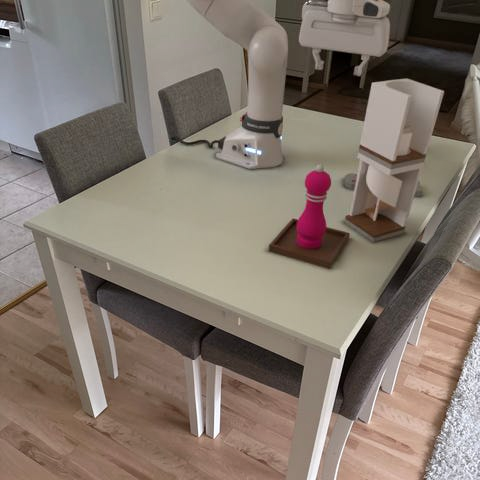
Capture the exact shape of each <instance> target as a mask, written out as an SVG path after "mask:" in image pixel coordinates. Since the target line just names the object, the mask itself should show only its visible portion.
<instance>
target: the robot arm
mask: <svg viewBox="0 0 480 480" xmlns="http://www.w3.org/2000/svg"><path fill="white" fill-rule="evenodd" d="M186 1H187V2H188V4H189V5H190V6H191V7H192V8H193V9H194V10H195V11H196V12H197V13H198V14H199V15H200V16H201V17H202V18H204V19H205V20H206V21H207V22H208V23H209V24H211V25H212V26H213V27H214V28H215V29H216V30H217V31H218V32H220V33H221V34H222V35H223V36H224V37H226V38H227V39H230V40H231V41H233V42H234V43H236V44H237V45H239V46H240V47H242V49H244V50H246V51H247V52H248V69H247V71H248V74H247V75H248V78H247V81H248V82H247V87H248V88H247V89H248V90H247V110H246V112H245V113H244V114H243V115H241V117H240V118H239V122H240V123H241V125H239V126H238V127H236V128H235V129H233V130H232V131H231V132H229V133H228V134H227V135H226V136H223V137H221V138H220V139H219V140H218V139H215V140H212V141H211V143H210V141H208V140H207V139H198V140H195V141H184V140H183V139H182V138H180V137H179V136H178V135H173V136H171V137H170V140H174V139H176V140H177V141H178V142H180V143H181V144H183V145H186V146H187V145H188V146H190V145H196V144H200V143H205V144H207V147H208V148H211V149H212V148H213V147H214V144H217V148H218V150H217V151H216V154H215V158H216V159H219V160H222V161H224V162H228V163H231V164H234V165H237V166H240V167H243V168H245V169H249V170H256V169H263V168H265V169H266V168H274V167H277V166H279V165H281V164H282V163H283V162H284V158H283V152H282V139H283V137H282V136H283V135H282V134H283V129H284V116H283V109H284V99H285V97H284V96H285V88H286V87H285V85H286V77H287V67H288V57H289V56H288V55H289V37H288V33H287V31H286V30H285V28H284V27H283V26H282V25H281V24H280V23H279V22H277V21H276V19H274V18H272V17H271V16H270V15H269V14H267V12H265V11H264V10H263V9H262V8H260V7H259V6H257V5H256V4H255V3H253V2H252V1H251V0H186ZM390 10H391V4H390V3H389V2H387V1H384V0H308V1H305V3H304V4H303V5H302V10H301V19H302V21H301V25H300V30H299V34H298V43H299V44H300V46H301V47H305V48H312V50H311V51H312V56H313V59H314V62H315V66H314V70H317V71H322V70H323V69H324V65H325V61H324V60H322V59H321V56H320V53H321V52H322V50H328V51H333V52H342V53H348V54H357V55H360V57H361V58H360V60H362V61H361V63H360V64H359V65H356V66H355V67H354V68H353V69H354V70H353V76H356V77H361V76H362V73H363V68H364V67H365V65H366V64H367V63H368V61H369V60H370V57H371V56H372V57H378V58H381V57H382V56H383V55H385V53H386V52H387V51H388V47H389V42H390V30H391V23H390V22H391V21H390V19H389V18H388V17H387V15H389V13H390Z"/></svg>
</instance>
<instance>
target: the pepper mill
mask: <svg viewBox="0 0 480 480" xmlns="http://www.w3.org/2000/svg"><path fill="white" fill-rule="evenodd" d="M324 170H325V167H324V165H323V164H317V165H316V166H315V170H312V171H310V172H308V174H306V177H305V179H304V187H305V189H306V190H305V194H304V197H305V199H306V201H305V202H306V203H305V206H304V207H305V208H304V210H303V211H302V213H301V214H300V216H299V217H298V222H297V226H296V229H297V231H298V235H297V244H298V245H299V246H301V247H303V248H306V249H316V248H318V247H320V246H321V244H322V235H324V233H325V232H326V227H327V221H326V217H325V212H324V203H325V201H326V200H327V199H328V198H327V195H328V191H329V190H330V189H331V186H332V179H331V176H330V174H329V173H328V172H327V171H324Z"/></svg>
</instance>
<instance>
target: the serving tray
mask: <svg viewBox="0 0 480 480" xmlns="http://www.w3.org/2000/svg"><path fill="white" fill-rule="evenodd" d="M298 219H299V218H298ZM298 219H297V218H294V217H292V219H291V220H290V221H289V222H288V223H287V224H285V226H284V228H283V229H282V230H281V231H280V232H279V233H278V234H277V235H276V237H274V239H273V240H272V241H271V242H270V243H269V244H268V252H270V253H272V254H273V253H274V254H276V255H280V256H284V257H287V258H291V259H295V260H298V261H301V262H304V263H308V264H312V265H315V266H319V267H322V268H326V269H331V268H332V266H333V264H334V263H335V261H336V260H337V259H338V257H339V255H340V253H341V252H342V250H343V249H344V247H345V245H346V244H347V243H348V241H349V240H350V232H347V231H344V230H340V229H335V228H332V227H329V226H326V232H325V233H324V235H322V244H321V246H320V247H318V248H316V249H306V248H303V247H301V246H299V245H298V244H297V235H298V231H297V229H296V226H297V222H298Z"/></svg>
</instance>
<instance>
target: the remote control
mask: <svg viewBox="0 0 480 480" xmlns="http://www.w3.org/2000/svg"><path fill="white" fill-rule="evenodd" d="M357 174H358V173H353V172H352V173H346V175H345V176H344V186H345V188H348V189H349V190H354V189H355V184H356V179H357ZM421 196H422V185H421V183H420V180H419V181H418V185H417V188H416V192H415V195H414V197H419V198H421Z"/></svg>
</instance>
